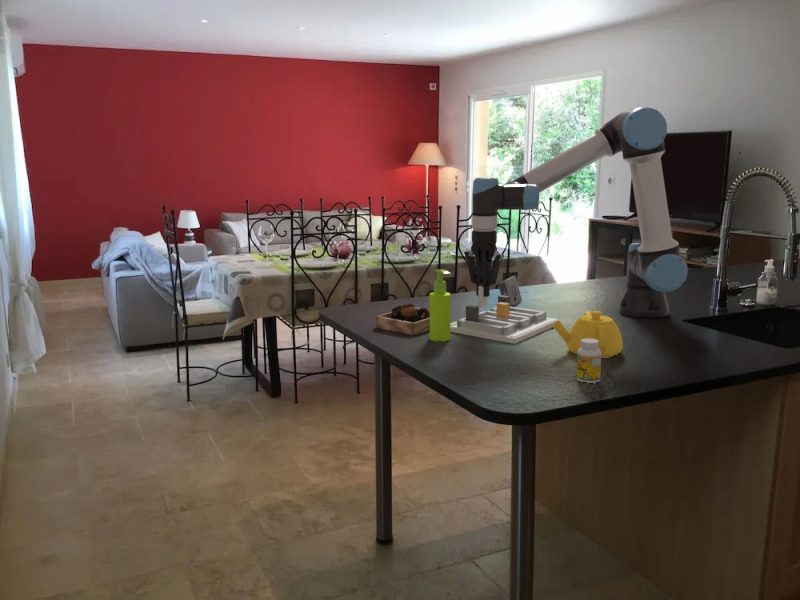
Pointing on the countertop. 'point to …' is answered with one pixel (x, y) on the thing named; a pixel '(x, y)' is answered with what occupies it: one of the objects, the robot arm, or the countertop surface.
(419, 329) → the wooden tray
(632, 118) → the robot arm
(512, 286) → the electrical switch
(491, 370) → the countertop surface
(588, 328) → the teapot
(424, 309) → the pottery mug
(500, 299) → the block
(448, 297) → the soap dispenser
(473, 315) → the block
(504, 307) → the block
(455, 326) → the panel
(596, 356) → the supplement bottle
